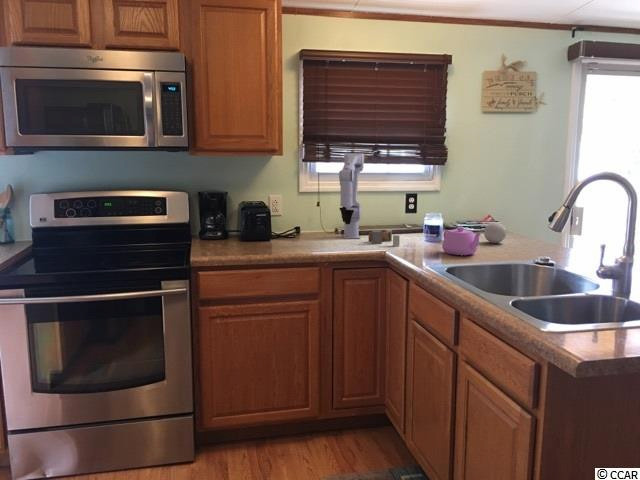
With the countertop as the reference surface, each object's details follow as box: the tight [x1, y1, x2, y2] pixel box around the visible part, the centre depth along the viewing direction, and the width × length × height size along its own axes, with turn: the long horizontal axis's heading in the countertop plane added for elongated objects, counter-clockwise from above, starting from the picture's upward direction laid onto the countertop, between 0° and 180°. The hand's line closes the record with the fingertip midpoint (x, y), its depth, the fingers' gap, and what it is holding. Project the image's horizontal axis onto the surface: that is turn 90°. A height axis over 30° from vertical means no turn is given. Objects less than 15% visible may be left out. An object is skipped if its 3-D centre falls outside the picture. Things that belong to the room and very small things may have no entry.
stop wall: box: [392, 234, 400, 247], centre depth 239 cm, size 2×2×5 cm
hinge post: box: [385, 229, 393, 242], centre depth 253 cm, size 2×2×5 cm
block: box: [371, 229, 383, 245], centre depth 246 cm, size 4×4×6 cm
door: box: [368, 231, 392, 243], centre depth 251 cm, size 11×1×4 cm, turn 96°
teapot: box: [442, 226, 484, 256], centre depth 219 cm, size 20×13×12 cm, turn 39°
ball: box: [483, 221, 507, 244], centre depth 243 cm, size 10×10×10 cm
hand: (346, 223), depth 245 cm, fingers open, 7 cm apart
